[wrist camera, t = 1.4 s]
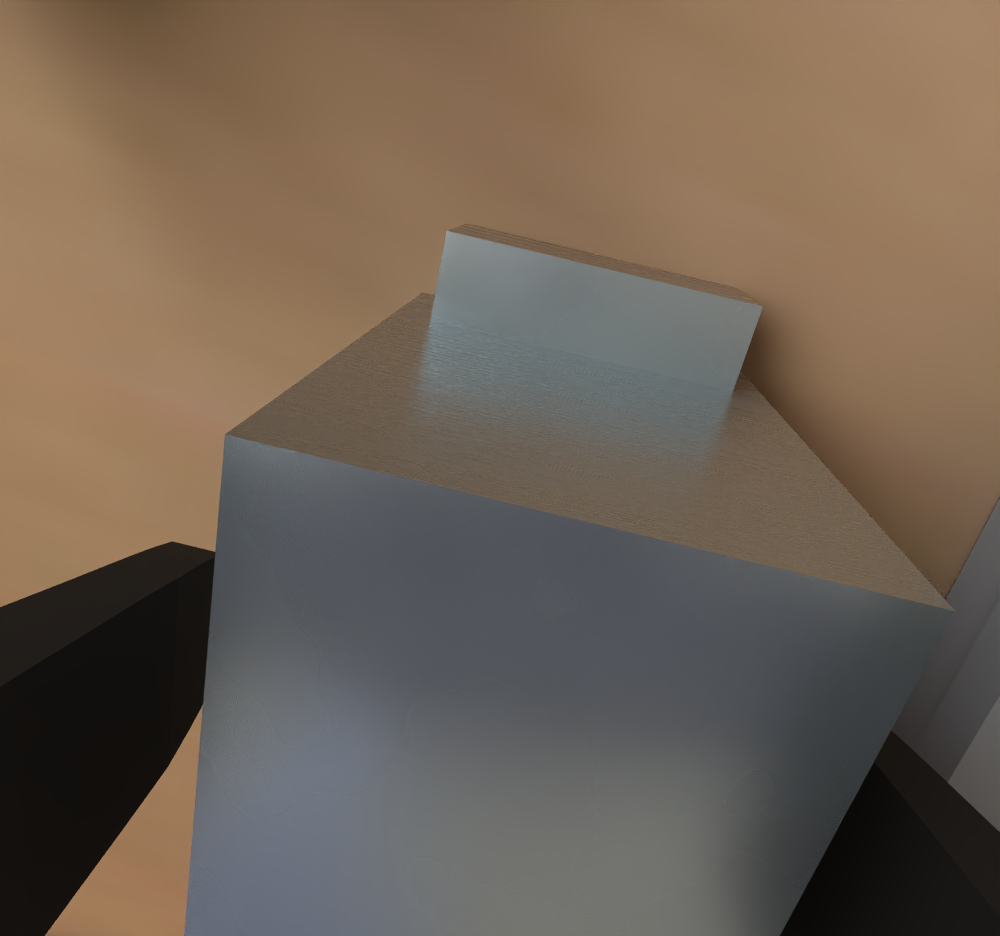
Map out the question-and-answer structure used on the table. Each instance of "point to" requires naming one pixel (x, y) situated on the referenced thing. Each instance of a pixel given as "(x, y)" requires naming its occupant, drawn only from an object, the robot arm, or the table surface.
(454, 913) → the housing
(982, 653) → the stand
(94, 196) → the table surface
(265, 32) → the table surface
